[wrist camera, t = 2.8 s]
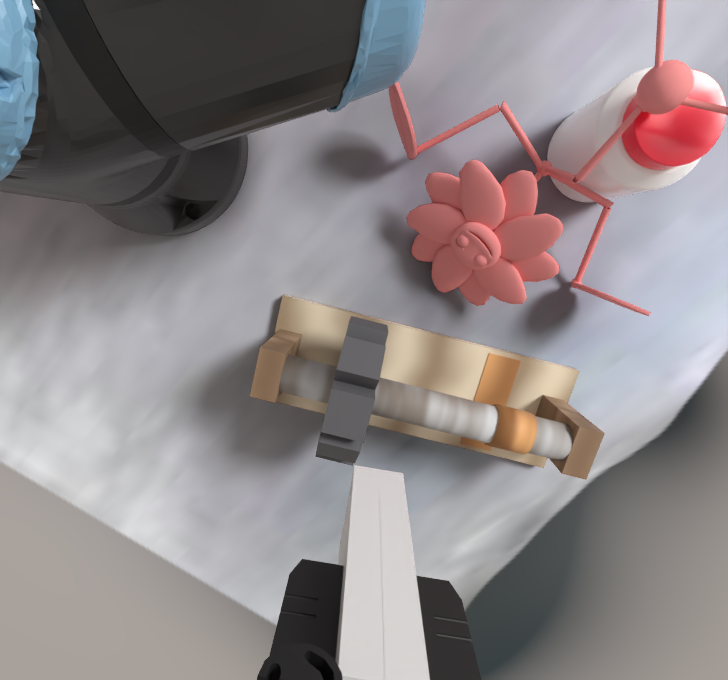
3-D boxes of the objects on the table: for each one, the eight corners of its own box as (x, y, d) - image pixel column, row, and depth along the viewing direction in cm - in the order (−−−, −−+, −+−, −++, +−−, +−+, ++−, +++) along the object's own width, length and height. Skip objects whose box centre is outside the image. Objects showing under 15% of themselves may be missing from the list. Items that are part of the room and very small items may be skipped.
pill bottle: (530, 141, 37) (593, 98, 27) (613, 86, 36) (714, 18, 26) (572, 220, 39) (649, 209, 28) (654, 169, 38) (767, 138, 27)
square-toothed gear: (325, 421, 41) (308, 482, 31) (353, 309, 39) (345, 332, 28) (356, 429, 41) (349, 492, 31) (385, 317, 39) (390, 344, 28)
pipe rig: (263, 394, 43) (235, 431, 34) (284, 294, 40) (260, 307, 32) (539, 462, 43) (580, 515, 35) (574, 368, 41) (626, 399, 33)
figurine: (1243, 21, 18) (540, 329, 46) (925, -624, 14) (366, 140, 42) (1774, 171, 9) (494, 443, 36) (1297, -1549, 5) (264, 215, 32)
